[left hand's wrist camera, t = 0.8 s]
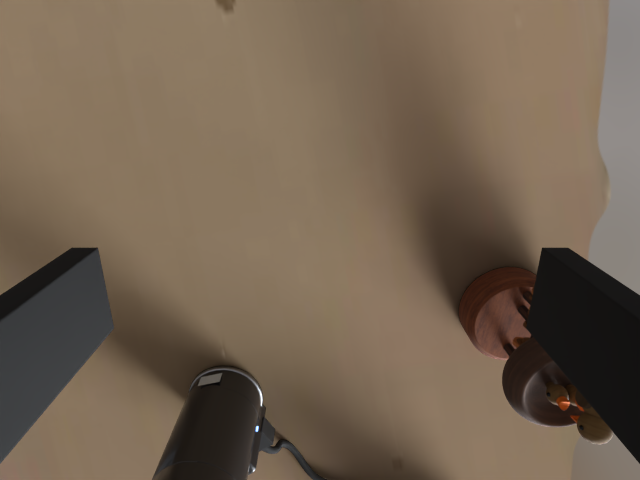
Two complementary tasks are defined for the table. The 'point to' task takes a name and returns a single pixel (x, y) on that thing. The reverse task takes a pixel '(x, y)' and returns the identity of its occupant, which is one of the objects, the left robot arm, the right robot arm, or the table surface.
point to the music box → (524, 354)
